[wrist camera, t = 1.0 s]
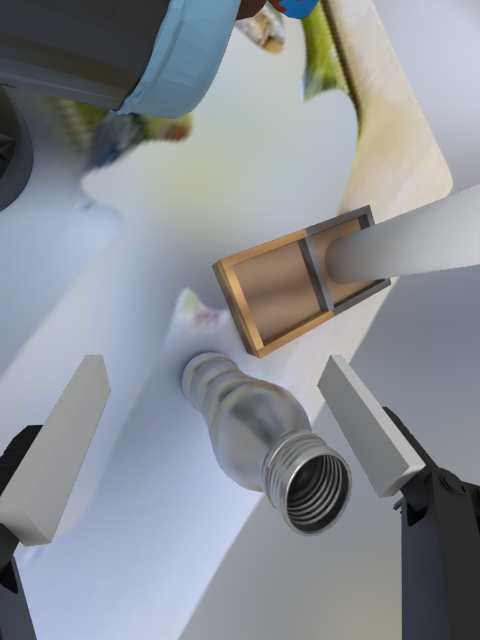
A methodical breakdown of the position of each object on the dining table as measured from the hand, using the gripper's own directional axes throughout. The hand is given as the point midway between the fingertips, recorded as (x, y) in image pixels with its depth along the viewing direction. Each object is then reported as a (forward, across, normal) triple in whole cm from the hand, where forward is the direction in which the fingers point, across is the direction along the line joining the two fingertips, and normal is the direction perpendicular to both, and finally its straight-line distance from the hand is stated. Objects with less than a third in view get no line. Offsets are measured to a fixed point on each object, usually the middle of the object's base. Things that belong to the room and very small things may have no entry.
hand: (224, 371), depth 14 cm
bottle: (+20, +19, +1) cm, 27 cm away
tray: (+20, +13, -1) cm, 24 cm away
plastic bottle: (+11, 0, -11) cm, 16 cm away
